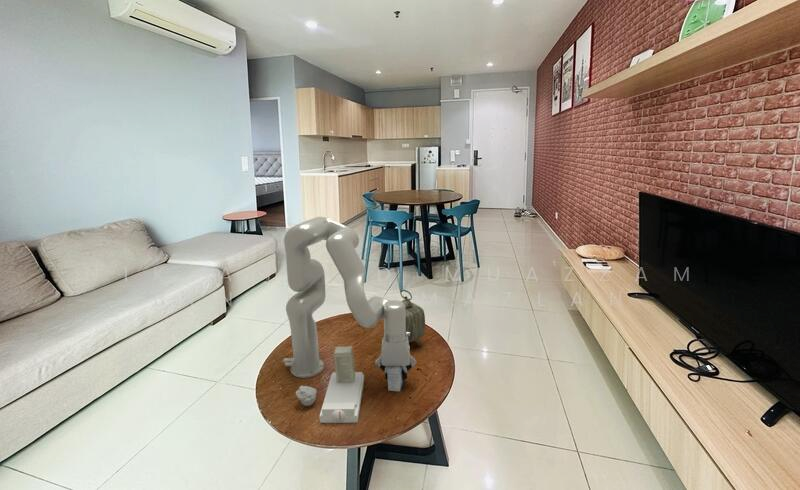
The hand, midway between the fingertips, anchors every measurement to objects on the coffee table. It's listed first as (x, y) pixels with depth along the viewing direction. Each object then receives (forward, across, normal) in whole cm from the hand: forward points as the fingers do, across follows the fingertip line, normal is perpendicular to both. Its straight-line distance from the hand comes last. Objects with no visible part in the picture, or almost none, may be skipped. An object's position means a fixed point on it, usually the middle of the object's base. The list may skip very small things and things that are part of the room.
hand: (396, 380), depth 139 cm
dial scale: (+2, +18, +8) cm, 20 cm away
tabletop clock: (+2, -4, -29) cm, 29 cm away
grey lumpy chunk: (+2, +30, +10) cm, 32 cm away
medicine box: (+2, 0, 0) cm, 2 cm away
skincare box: (-1, +18, +1) cm, 18 cm away
